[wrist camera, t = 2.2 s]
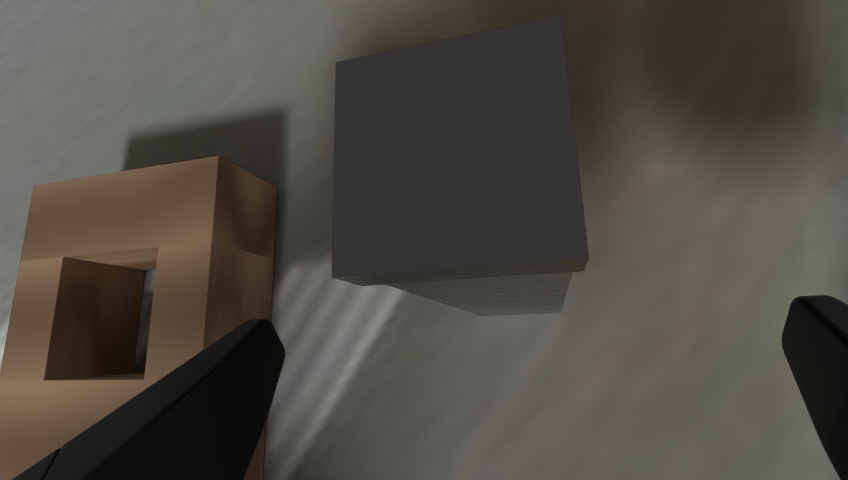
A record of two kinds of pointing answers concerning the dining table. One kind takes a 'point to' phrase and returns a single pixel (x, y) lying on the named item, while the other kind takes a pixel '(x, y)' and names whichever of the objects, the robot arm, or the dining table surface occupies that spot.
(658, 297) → the dining table surface
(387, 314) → the dining table surface
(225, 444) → the robot arm
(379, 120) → the block
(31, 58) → the dining table surface
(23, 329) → the bit block
